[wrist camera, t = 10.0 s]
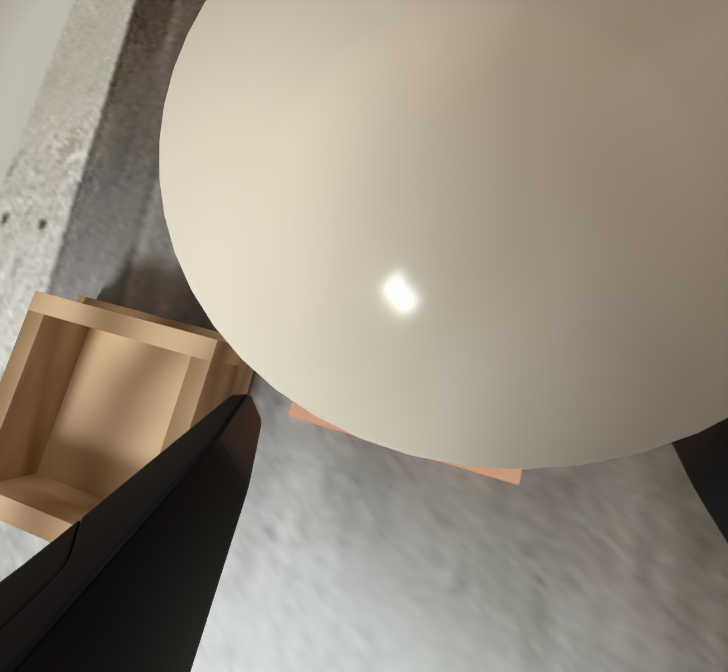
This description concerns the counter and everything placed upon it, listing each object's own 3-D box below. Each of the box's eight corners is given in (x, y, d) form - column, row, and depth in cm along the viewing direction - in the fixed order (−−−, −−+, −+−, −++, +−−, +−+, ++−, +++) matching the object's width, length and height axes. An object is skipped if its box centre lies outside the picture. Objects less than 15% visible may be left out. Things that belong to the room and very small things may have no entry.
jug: (494, 399, 16) (1049, 466, 2) (364, 403, 17) (137, 471, 3) (479, 232, 17) (759, -412, 3) (359, 243, 18) (185, -246, 4)
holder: (262, 343, 19) (228, 333, 15) (198, 555, 18) (146, 594, 14) (94, 299, 21) (32, 281, 17) (26, 486, 20) (-56, 506, 16)
